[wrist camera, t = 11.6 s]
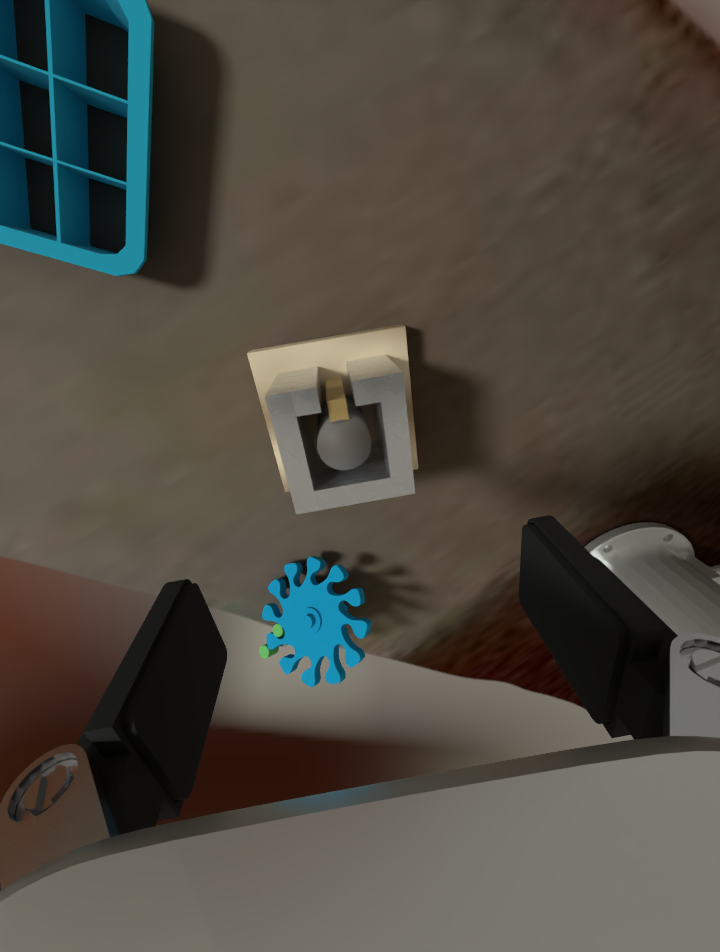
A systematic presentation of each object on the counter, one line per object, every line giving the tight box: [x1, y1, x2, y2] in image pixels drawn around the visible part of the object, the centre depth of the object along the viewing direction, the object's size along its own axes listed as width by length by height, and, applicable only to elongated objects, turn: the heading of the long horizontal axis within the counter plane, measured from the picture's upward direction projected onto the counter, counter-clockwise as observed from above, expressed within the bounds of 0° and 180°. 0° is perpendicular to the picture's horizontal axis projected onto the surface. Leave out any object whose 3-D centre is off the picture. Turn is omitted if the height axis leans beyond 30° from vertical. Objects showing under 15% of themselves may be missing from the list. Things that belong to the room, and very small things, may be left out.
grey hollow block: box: [265, 355, 415, 514], centre depth 23 cm, size 7×7×6 cm
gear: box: [259, 556, 372, 687], centre depth 33 cm, size 11×6×10 cm
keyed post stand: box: [247, 324, 418, 492], centre depth 24 cm, size 10×10×7 cm
